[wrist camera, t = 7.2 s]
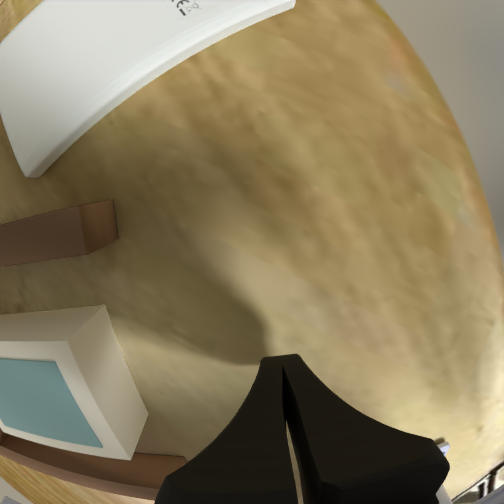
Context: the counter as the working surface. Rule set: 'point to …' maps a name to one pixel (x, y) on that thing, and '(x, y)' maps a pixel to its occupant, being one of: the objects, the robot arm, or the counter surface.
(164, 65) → the external hard drive
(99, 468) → the frame
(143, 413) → the card box
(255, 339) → the counter surface
